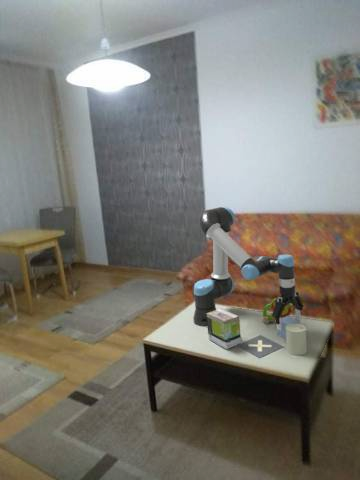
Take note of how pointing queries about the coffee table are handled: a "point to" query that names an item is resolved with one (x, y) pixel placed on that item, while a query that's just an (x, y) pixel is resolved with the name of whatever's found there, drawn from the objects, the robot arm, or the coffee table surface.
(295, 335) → the can
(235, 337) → the tea box
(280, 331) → the blue cube
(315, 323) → the coffee table surface
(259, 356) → the letter mat
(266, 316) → the toy lion
